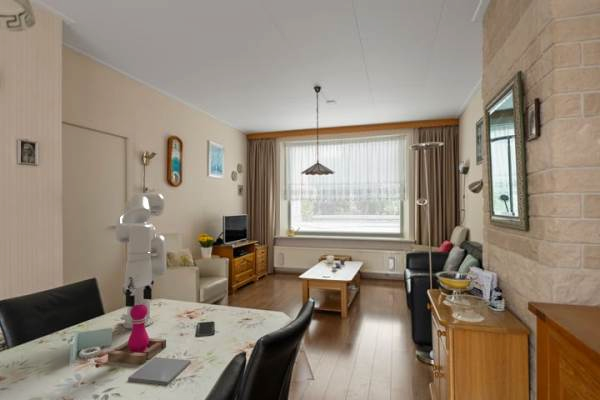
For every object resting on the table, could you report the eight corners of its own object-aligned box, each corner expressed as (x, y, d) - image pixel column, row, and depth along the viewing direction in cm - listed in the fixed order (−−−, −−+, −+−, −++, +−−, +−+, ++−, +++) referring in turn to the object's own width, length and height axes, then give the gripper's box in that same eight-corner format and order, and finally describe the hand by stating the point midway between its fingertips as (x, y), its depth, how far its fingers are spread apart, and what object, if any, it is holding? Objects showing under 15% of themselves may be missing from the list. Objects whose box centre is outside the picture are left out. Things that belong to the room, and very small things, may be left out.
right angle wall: (69, 365, 112) (70, 344, 113) (75, 351, 123) (75, 332, 123) (109, 358, 118) (109, 337, 118) (111, 345, 129) (111, 327, 129)
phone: (195, 335, 136) (197, 322, 151) (195, 337, 136) (197, 324, 151) (214, 333, 138) (214, 321, 153) (214, 335, 138) (214, 323, 153)
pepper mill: (153, 351, 123) (153, 299, 123) (138, 359, 116) (138, 304, 116) (138, 348, 125) (139, 297, 125) (122, 356, 118) (123, 302, 118)
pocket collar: (107, 361, 115) (108, 352, 115) (134, 344, 128) (134, 337, 128) (142, 364, 112) (143, 356, 112) (166, 347, 126) (166, 339, 126)
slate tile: (128, 380, 102) (128, 377, 102) (155, 359, 116) (155, 356, 116) (168, 384, 100) (168, 381, 100) (190, 363, 113) (190, 360, 114)
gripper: (145, 253, 130) (145, 296, 129) (114, 260, 113) (113, 309, 112) (162, 254, 129) (161, 297, 128) (133, 260, 112) (132, 310, 111)
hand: (139, 302), depth 120 cm, fingers open, 9 cm apart
